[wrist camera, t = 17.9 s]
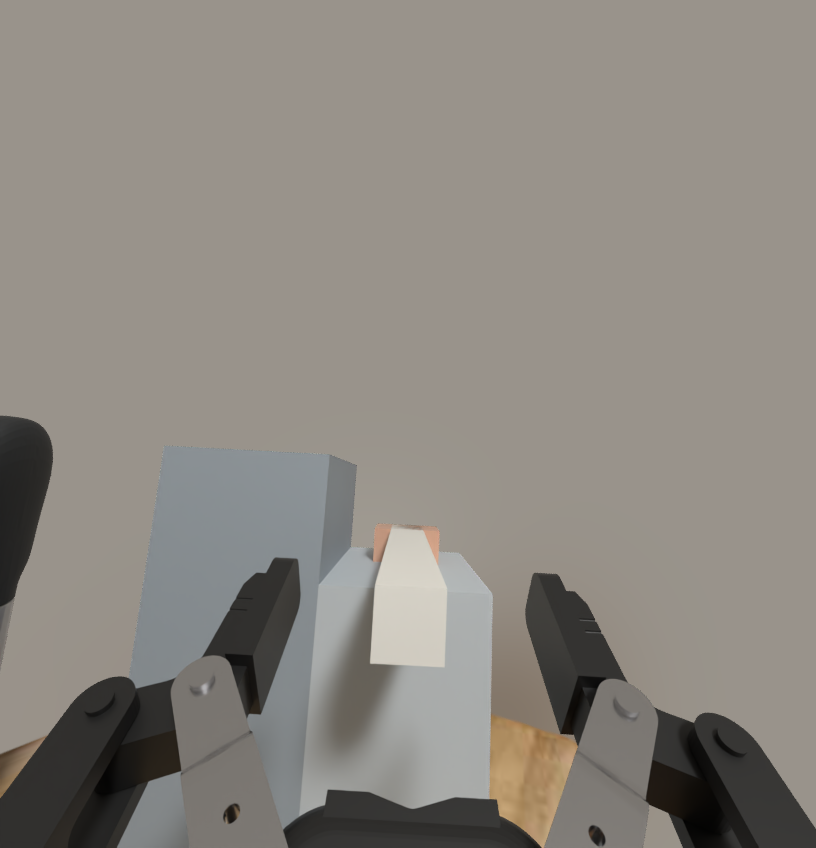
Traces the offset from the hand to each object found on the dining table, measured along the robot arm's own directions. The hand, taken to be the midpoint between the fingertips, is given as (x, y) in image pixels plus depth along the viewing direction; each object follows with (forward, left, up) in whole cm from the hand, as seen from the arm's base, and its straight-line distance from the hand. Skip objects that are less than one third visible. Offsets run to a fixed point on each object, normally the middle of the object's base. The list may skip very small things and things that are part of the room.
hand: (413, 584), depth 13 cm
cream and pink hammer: (-13, +7, -4) cm, 15 cm away
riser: (-22, +6, -26) cm, 34 cm away
